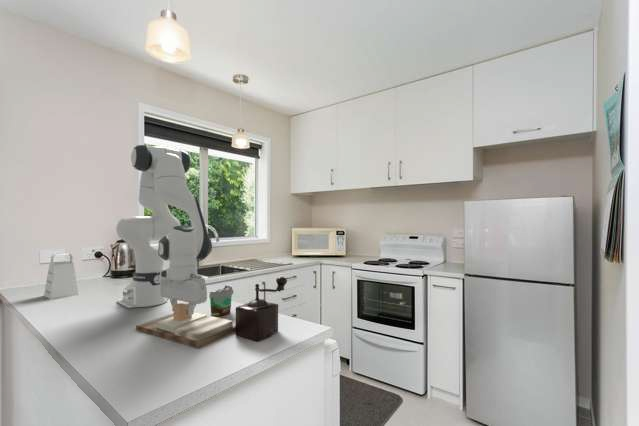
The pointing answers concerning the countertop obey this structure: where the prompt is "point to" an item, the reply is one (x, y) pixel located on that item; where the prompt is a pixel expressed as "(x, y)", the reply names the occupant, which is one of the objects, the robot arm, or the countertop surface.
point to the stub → (179, 318)
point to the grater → (61, 279)
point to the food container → (221, 301)
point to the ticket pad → (178, 339)
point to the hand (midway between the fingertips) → (182, 312)
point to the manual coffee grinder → (258, 316)
